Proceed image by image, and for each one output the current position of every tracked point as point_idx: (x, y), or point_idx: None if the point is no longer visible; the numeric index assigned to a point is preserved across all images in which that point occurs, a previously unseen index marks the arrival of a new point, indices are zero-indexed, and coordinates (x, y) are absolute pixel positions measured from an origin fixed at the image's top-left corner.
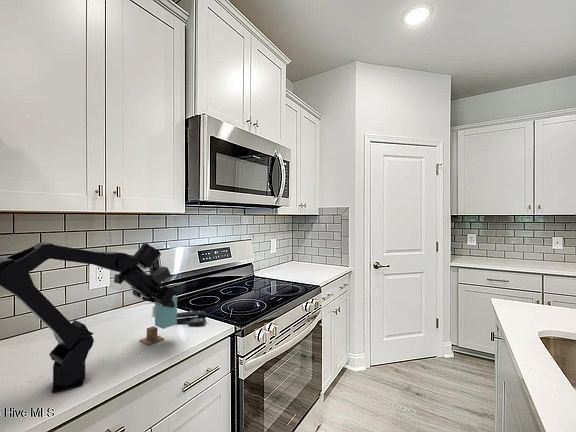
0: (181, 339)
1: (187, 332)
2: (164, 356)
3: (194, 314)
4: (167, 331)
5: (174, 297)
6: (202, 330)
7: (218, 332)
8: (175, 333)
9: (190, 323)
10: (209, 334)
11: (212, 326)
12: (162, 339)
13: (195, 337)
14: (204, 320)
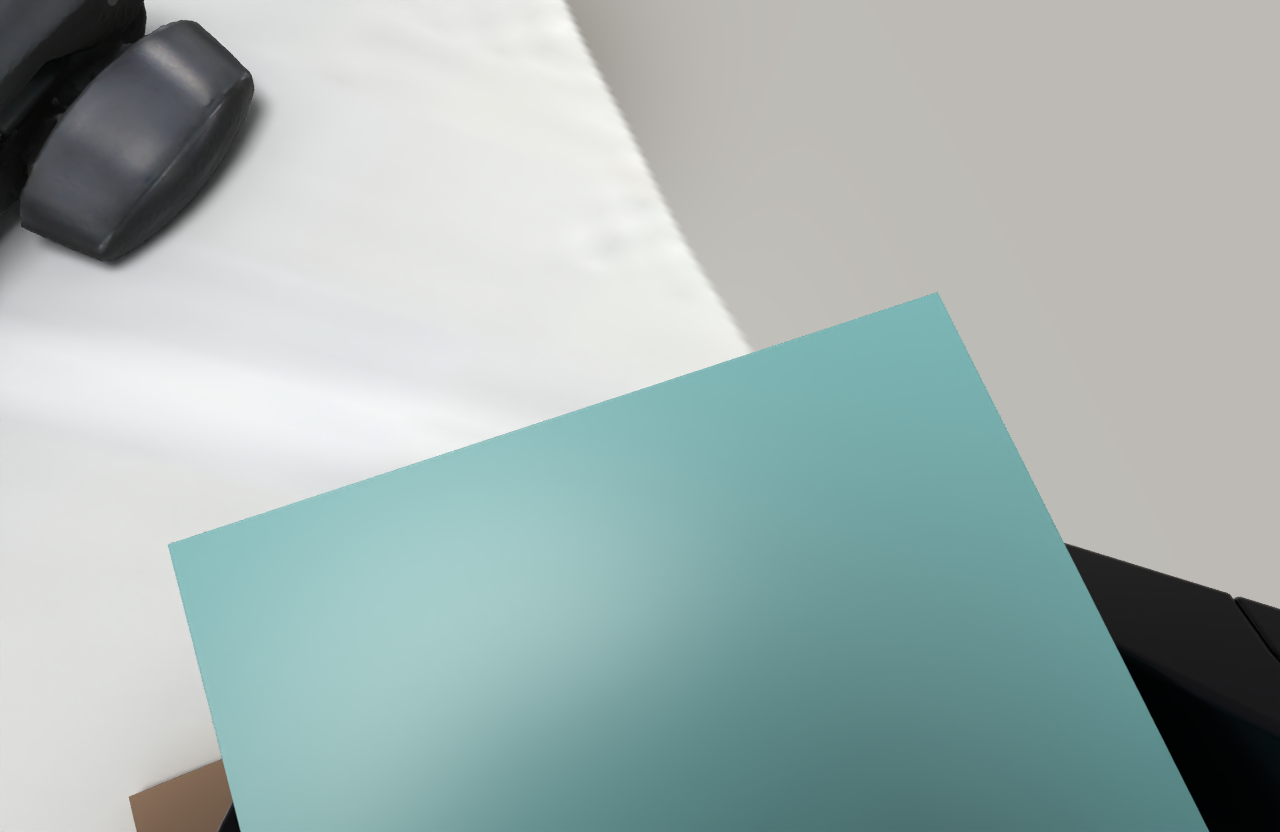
0: None
1: (337, 347)
2: None
3: (6, 77)
4: (85, 581)
5: (980, 428)
6: (399, 175)
7: (580, 62)
8: (258, 495)
9: (127, 226)
10: (577, 158)
11: (349, 37)
12: None
13: (568, 316)
14: (213, 44)
